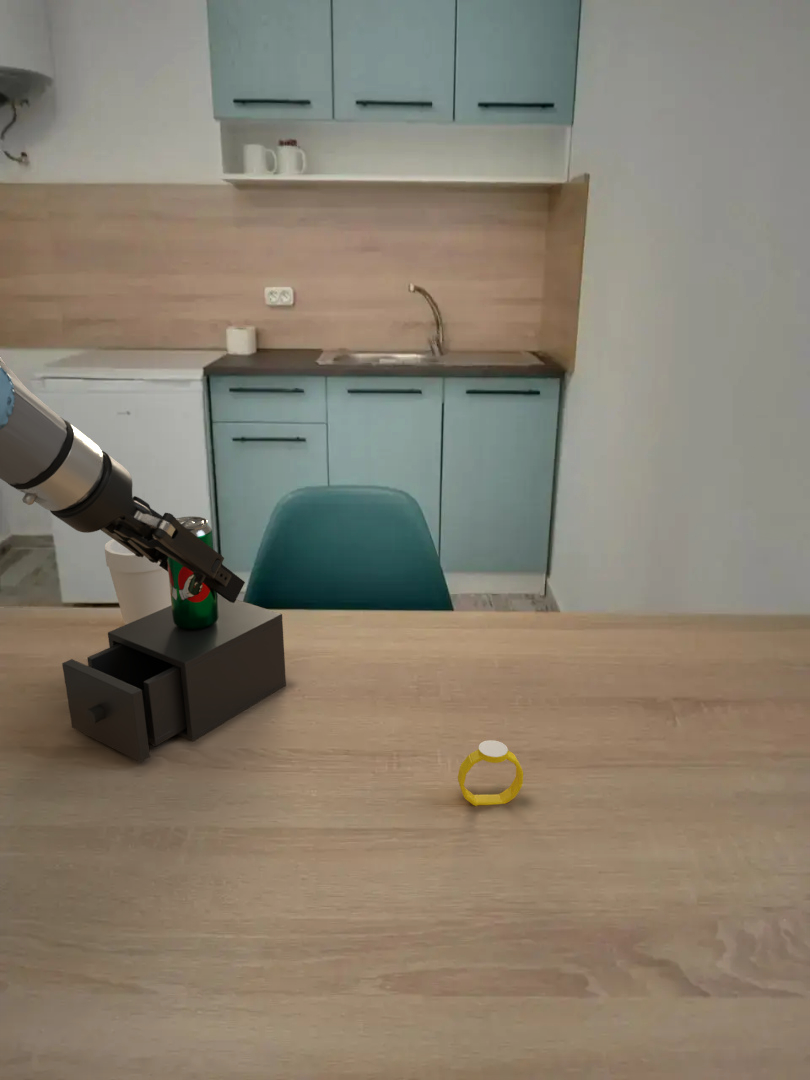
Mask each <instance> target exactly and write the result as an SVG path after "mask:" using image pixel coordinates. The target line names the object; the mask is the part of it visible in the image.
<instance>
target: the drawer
mask: <svg viewBox="0 0 810 1080" xmlns="http://www.w3.org/2000/svg"><path fill="white" fill-rule="evenodd" d="M86 660H87V664H84V663H82V662H80V661H77V660H76V659H73V658H71V659H68V660H66V661H64V662H62V665H61V666H62V670H63V678H64V684H65V691H66V697H67V703H68V709H69V716H70V723H71V727H72V728H73V729H74V730H76V731H79V732H81V733H82V734H84V735H86V736H88V737H89V738H92V739H94V740H96V741H98V742H100V743H102V744H103V745H105V746H107V747H109V748H112V749H113V750H115V751H118V752H119V753H121V754H123V755H125V756H127V757H128V758H131V759H133V760H135V761H137V762H139V763H142V762H144V761H146V760H148V759H149V758H150V757H151V753H150V747H149V744H150V745H152V746H153V747H154V746H155V747H157V746H159V745H160V744H162V743H164V742H165V741H168V740H169V739H170V738H172V737H174V736H176V735H177V733H179V732H181V731H183V730H184V729H186V728H187V725H186V716H185V706H184V696H183V686H182V677H181V668H180V667H177V666H175V665H173V664H170V663H168V662H165V661H163V660H160V659H158V658H155V657H153V656H150V655H148V654H145V653H143V652H140V651H138V650H135V649H133V648H130V647H128V646H125V645H123V644H120V643H119V644H116V645H114V646H112V647H107V648H105V649H102V650H101V651H98V652H96V653H94V654H92V655H90V656H87V659H86Z"/></svg>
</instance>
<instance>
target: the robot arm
mask: <svg viewBox="0 0 810 1080" xmlns="http://www.w3.org/2000/svg"><path fill="white" fill-rule="evenodd" d="M0 480H2V481H3V482H4V483H6V484H7V485H9V486H10V487H11V488H14V489H15V490H17V491H18V492H21V493H23V494H24V495H23V497H22V499H21V500H22V503H24V504H26V505H28V506H31V505H33V504H34V503H36V504H37V505H40V506H41V507H42V508H43V509H45V510H48V511H49V512H50V514H52V515H53V516H54V517H56V518H57V519H59V520H60V521H62V522H63V523H65V524H66V525H68V526H69V527H71V528H72V529H74V530H75V531H77V532H80V533H84V534H87V533H88V534H89V533H90V534H91V533H94V532H98V531H101V532H103V533H104V534H106V535H107V536H108V537H110V538H111V539H114V540H116V541H117V542H118V543H120V544H121V545H123V546H124V547H126V548H127V549H128V550H130V551H131V552H133V553H134V554H135V555H136V556H137V557H142V558H143V556H145V557H146V558H148V560H149V561H150V562H152V563H158V561H159V562H161V563H160V565H159V566H160V567H162V568H163V569H165V570H166V571H167V572H168V565H167V556H168V557H170V558H172V559H173V560H175V561H176V562H178V563H180V564H181V565H183V566H184V567H186V568H187V569H189V570H191V571H192V572H194V573H195V574H196V575H195V577H196V578H195V580H194V581H195V582H197V583H199V584H202V583H204V584H206V585H207V586H208V587H210V588H211V589H213V590H214V591H215V592H217V593H218V594H219V595H221V596H222V597H224V598H225V599H226V600H228V601H229V602H232V603H235V601H236V600H238V597H239V595H240V593H241V591H242V589H243V587H244V585H245V584H246V581H245V580H243V579H242V578H241V577H239V576H238V575H236V574H235V573H234V572H233V571H232V570H230V569H229V568H227V567H226V566H225V565H224V564H223V562H224V560H225V557H224V556H223V554H220V553H219V552H217V551H216V550H215V549H214V550H213V549H212V548H211V547H210V546H208V545H207V544H206V543H204V542H203V541H202V540H201V539H199V538H198V537H197V536H195V535H194V534H193V533H192V532H190V531H189V530H188V529H186V528H185V527H184V526H183V525H181V523H180V522H179V521H178V520H177V519H176V516H174V514H172V513H170V512H164V513H163V515H161V514H160V513H159V512H157V511H156V510H154V509H153V508H151V505H150V504H149V503H148V502H147V501H145V500H143V499H142V498H140V497H138V496H137V495H133V478H132V476H131V473H130V471H129V470H128V469H126V468H125V466H124V465H122V464H121V463H119V462H118V461H117V460H116V459H114V458H113V457H112V456H110V455H109V454H108V453H107V452H106V451H104V450H101V447H100V446H99V445H98V444H97V443H95V442H94V441H93V440H92V439H91V438H90V437H88V436H87V435H85V434H84V433H83V432H82V431H80V429H78V428H77V427H75V426H74V425H73V424H72V423H70V421H68V420H66V419H64V418H63V417H62V416H60V415H59V414H57V413H56V412H55V411H54V410H53V409H51V408H50V406H48V405H47V404H46V403H44V402H43V401H42V400H41V399H40V398H39V397H37V396H36V395H35V394H34V393H33V392H32V391H30V390H29V388H27V387H26V386H25V385H24V383H23V382H22V381H21V380H20V379H19V378H18V376H17V375H16V374H15V372H14V371H13V370H12V369H11V368H10V367H9V366H8V365H7V364H6V363H5V361H4V360H3V358H2V357H1V356H0Z"/></svg>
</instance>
